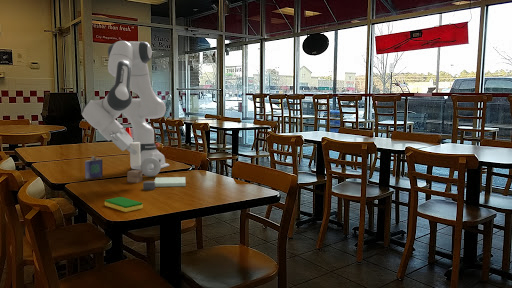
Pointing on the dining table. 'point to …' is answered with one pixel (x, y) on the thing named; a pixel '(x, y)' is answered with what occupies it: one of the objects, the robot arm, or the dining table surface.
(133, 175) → the walnut cube
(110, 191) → the dining table surface
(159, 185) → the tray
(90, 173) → the flask
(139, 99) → the robot arm
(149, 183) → the rubber puck
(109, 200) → the dish sponge
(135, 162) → the tall block
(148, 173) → the donut
